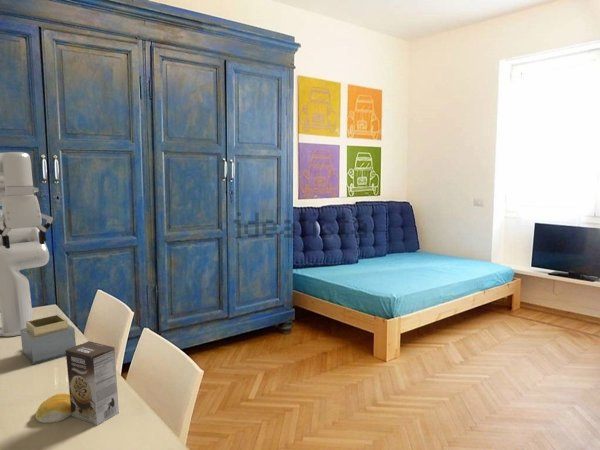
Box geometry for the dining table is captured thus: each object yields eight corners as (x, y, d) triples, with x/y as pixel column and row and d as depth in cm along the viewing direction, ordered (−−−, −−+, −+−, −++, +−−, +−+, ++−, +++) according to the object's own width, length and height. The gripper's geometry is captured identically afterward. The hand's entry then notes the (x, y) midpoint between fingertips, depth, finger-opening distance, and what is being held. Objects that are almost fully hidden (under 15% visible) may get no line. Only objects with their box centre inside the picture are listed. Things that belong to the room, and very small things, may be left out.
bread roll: (80, 401, 111) (79, 386, 110) (71, 421, 102) (69, 404, 102) (43, 406, 109) (42, 390, 108) (30, 426, 100) (29, 409, 100)
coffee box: (70, 416, 103) (63, 349, 101) (94, 403, 109) (88, 339, 107) (96, 426, 99) (90, 356, 97) (120, 412, 105) (115, 346, 103)
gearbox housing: (19, 350, 144) (16, 318, 142) (60, 340, 152) (57, 310, 151) (33, 365, 132) (29, 330, 131) (76, 352, 141) (73, 320, 139)
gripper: (46, 190, 149) (51, 241, 151) (-16, 193, 137) (-10, 248, 139) (53, 190, 144) (58, 243, 146) (-11, 193, 132) (-5, 251, 134)
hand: (25, 246), depth 143 cm, fingers open, 9 cm apart
